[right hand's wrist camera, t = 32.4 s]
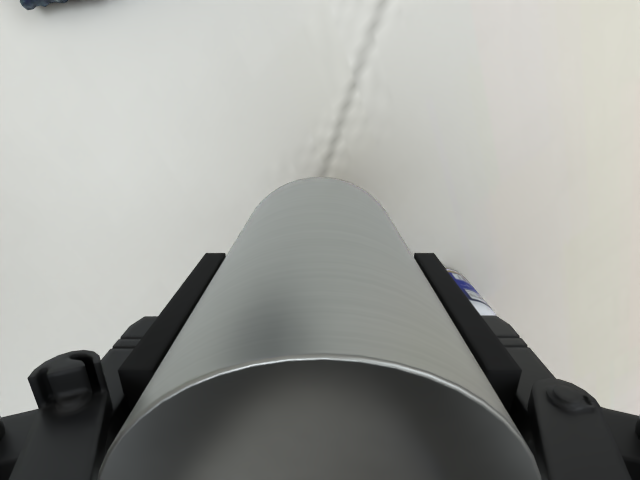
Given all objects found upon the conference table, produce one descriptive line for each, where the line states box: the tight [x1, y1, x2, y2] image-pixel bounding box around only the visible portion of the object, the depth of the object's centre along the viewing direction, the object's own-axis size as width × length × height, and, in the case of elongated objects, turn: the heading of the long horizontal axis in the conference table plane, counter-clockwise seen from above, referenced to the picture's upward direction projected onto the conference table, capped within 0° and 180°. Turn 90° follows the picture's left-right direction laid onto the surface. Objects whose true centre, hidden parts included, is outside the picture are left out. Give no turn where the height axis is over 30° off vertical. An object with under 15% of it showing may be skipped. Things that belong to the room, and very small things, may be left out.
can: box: [98, 177, 541, 480], centre depth 12 cm, size 7×7×12 cm
